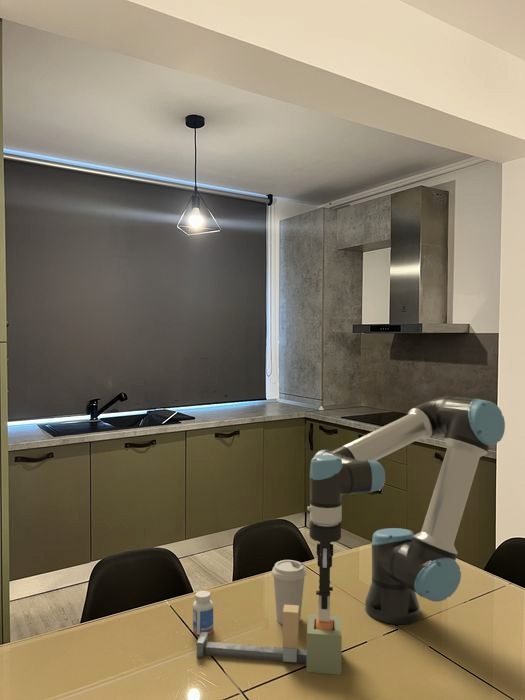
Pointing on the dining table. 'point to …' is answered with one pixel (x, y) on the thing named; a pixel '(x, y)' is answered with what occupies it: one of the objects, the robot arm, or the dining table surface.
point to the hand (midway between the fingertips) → (324, 619)
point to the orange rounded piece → (324, 625)
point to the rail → (243, 650)
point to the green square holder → (324, 647)
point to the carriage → (290, 632)
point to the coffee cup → (288, 585)
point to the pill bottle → (202, 613)
